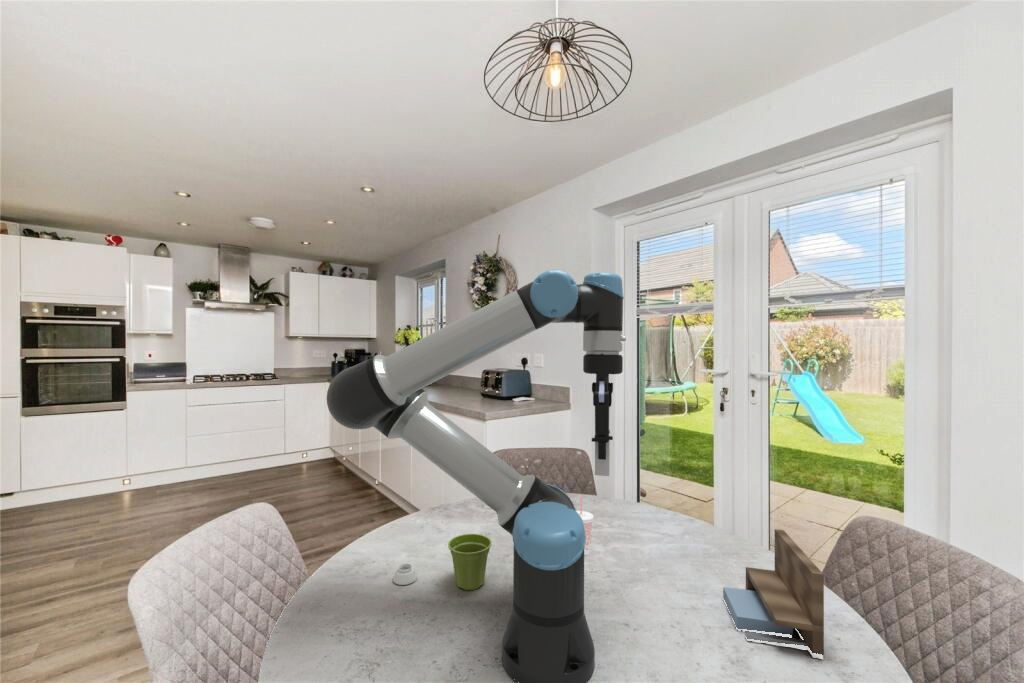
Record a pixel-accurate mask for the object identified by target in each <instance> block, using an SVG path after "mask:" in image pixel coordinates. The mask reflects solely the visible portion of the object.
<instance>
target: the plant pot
mask: <svg viewBox="0 0 1024 683" xmlns="http://www.w3.org/2000/svg"><path fill="white" fill-rule="evenodd" d="M492 542H493V541H492V540H491V538H489V537H488V536H487V535H483V534H480V533H465V534H460V535H459V534H458V535H457V536H454V537H452V538H451V539H450V540H449V541H448V543H447V547H448V549H449V550H450V554H451V557H452V563H453V572H454V580H455V585H456V587H457V588H461V589H463V590H464V591H472V590H477V589H479V588H480V587H481V586H482V585H484V583H485V578H486V569H487V564H488V563H487V562H488V555H489V553H490V548H491V547H492Z"/></svg>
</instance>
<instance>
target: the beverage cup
mask: <svg viewBox="0 0 1024 683" xmlns="http://www.w3.org/2000/svg"><path fill="white" fill-rule="evenodd" d="M579 497H580V500H579V505H580V508H579V510H576V512H577V513H578V514H579V515H580V517H581V518H582V521H583V524H584V530H585V535H586V543H585V548H584V556H588V555H590V553H591V543H592V542H591V541H592V540H591V539H592V526H593V521H594V515H593V513H591V512H589V511H585V510H583V495H582V494H580V496H579Z"/></svg>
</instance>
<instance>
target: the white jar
mask: <svg viewBox="0 0 1024 683" xmlns="http://www.w3.org/2000/svg"><path fill="white" fill-rule="evenodd" d="M417 578H418V574H417V572H416V571H415V569H414V567H413V565H412V563H402V564H400V565H398V567H397V569H396V571H395V573H394V575H393V578H392V581H393V582H394V584H397V585H400V586H405V585H406V586H407V585H411V584H413V583H414V582H415V581H416V580H417Z"/></svg>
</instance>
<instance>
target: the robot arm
mask: <svg viewBox="0 0 1024 683" xmlns="http://www.w3.org/2000/svg"><path fill="white" fill-rule="evenodd" d="M623 290H624V288H623V279H622V277H621V276H620V275H619V274H617V273H612V272H594V273H593V272H592V273H588V274H586V275H585V276H584V278H583V282H582V283H579V284H577V282H576V281H575V279H574V278H573V277H572V276H571V275H570V274H569V273H567V272H565V271H564V270H560V269H549V270H545V271H543V272H542V273H540V274H538V275H537V276H536V278H535V279H534V280H533V281H532V282H529V283H527V284H526V285H523V286H522V287H520V288H518V289H516V290H514V291H512V292H510V293H507V294H506V295H504V296H503V297H500V298H499V299H497V300H494V301H492V302H491V303H488V304H487V305H484V306H483V307H481V308H478V309H477V310H475V311H473V312H471V313H469V314H468V315H465V316H463V317H461V318H459V319H458V320H455V321H454V322H452V323H449V324H447V325H446V326H443V327H442V328H440V329H438V330H436V331H435V332H432V333H430V334H428V335H426V336H424V337H423V338H421V339H418V340H417V341H415V342H412V343H411V344H409V345H407V346H405V347H403V348H401V349H398V350H397V351H395V352H393V353H391V354H389V355H386V356H385V355H383V354H376V355H374V356H372V357H369V359H366V360H364V361H362V362H360V363H359V362H358V363H357V364H355V365H353V366H349V367H347V368H345V369H343V370H342V371H340V372H339V373H338V374H337V375H335V377H333V379H332V380H331V382H330V384H329V386H328V389H327V391H326V405H327V409H328V411H329V414H330V415H331V417H332V418H333V419H334V420H335V421H336V422H338V424H340V425H341V426H343V427H345V428H347V429H351V430H366V429H371V428H374V429H376V430H377V431H378V432H380V433H381V434H382V435H384V436H385V437H386V438H388V439H389V440H392V439H402V441H403V440H404V442H405V443H407V444H408V445H409V446H411V447H412V448H413V449H415V450H416V451H417V452H418V453H419V454H421V455H422V456H424V457H425V458H426V459H427V460H428V461H430V462H431V463H432V464H434V465H435V466H436V467H438V468H439V469H440V470H441V471H443V472H444V473H445V474H447V475H448V476H449V477H450V478H452V479H453V480H454V481H455V482H456V483H458V484H460V485H461V486H462V487H463V488H465V489H466V490H467V491H468V492H470V493H471V494H472V495H473V496H475V498H477V499H478V500H480V501H481V502H482V503H484V504H485V505H486V506H487V507H489V508H490V509H492V510H493V511H494V512H495V513H496V515H497V522H498V526H500V527H501V528H502V529H503V530H505V532H507V533H508V534H510V535H511V536H512V542H513V570H512V572H513V573H512V574H513V578H512V579H513V580H512V582H513V586H512V597H513V598H512V610H511V613H510V616H509V620H508V622H507V625H506V629H505V631H504V634H503V636H502V637H503V638H502V643H501V661H502V665H503V668H504V671H506V674H508V676H509V675H510V676H511V677H512V678H513V679H515V680H514V681H515V682H516V681H517V682H519V683H587V682H588V681H589V679H590V678H591V677H592V675H593V673H594V671H595V665H596V663H595V662H596V660H595V659H596V658H595V656H596V655H595V653H596V651H595V644H594V641H593V638H592V637H593V636H592V635H591V630H590V628H589V624H588V621H587V618H586V614H585V555H584V548H585V543H586V535H585V530H584V524H583V521H582V518H581V517H580V515H579V514H578V513H577V512H576V511H577V510H576V507H575V505H574V503H573V501H572V500H571V498H570V497H569V495H568V494H567V493H566V492H565V491H564V490H563V489H561V488H559V487H558V486H556V485H553V484H548V483H546V482H544V481H542V480H541V479H540V478H539V477H537V476H536V475H534V474H527V475H523V474H520V473H519V472H518V471H517V470H516V469H514V468H513V467H512V466H510V465H509V464H508V463H507V462H506V461H504V460H502V459H501V458H500V457H499V456H498V455H496V454H495V453H493V452H492V451H491V450H490V449H488V448H487V447H486V446H485V445H484V444H482V443H481V442H480V441H478V440H477V439H475V438H474V437H473V436H471V435H470V434H469V433H467V432H466V431H465V430H464V429H463V428H461V427H460V426H458V424H456V423H454V421H452V420H451V419H450V418H448V417H447V416H445V415H444V414H443V413H442V412H440V411H439V410H438V409H436V407H434V406H433V405H432V404H430V402H429V398H428V392H427V391H426V390H424V389H423V388H425V387H427V386H429V385H431V384H433V383H435V382H438V381H439V380H441V379H443V378H445V377H447V376H449V375H451V374H453V373H454V372H457V371H459V370H460V369H462V368H464V367H466V366H468V365H471V364H472V363H474V362H476V361H478V360H480V359H482V358H485V357H486V356H488V355H489V354H492V353H494V352H496V351H498V350H500V349H501V348H503V347H505V346H508V345H509V344H511V343H514V342H515V341H517V340H520V339H521V338H523V337H525V336H527V335H529V334H531V333H532V332H535V331H537V330H538V329H541V328H543V327H545V326H548V325H549V324H551V323H552V324H558V323H564V324H565V323H575V324H579V323H581V324H582V323H583V331H582V333H583V334H582V350H583V352H585V354H584V355H583V356H582V357H583V359H582V361H583V362H582V363H583V364H582V365H583V367H582V369H583V373H585V374H589V375H592V374H594V375H595V376H596V377H595V382H592V383H591V392H592V395H593V396H592V405H593V406H594V437H591V442H592V443H593V442H594V476H601V477H610V441H613V440H614V439H613V438H614V437H613V436H612V435H610V432H611V431H610V407H612V401H613V400H612V397H613V396H612V394H613V392H614V391H613V390H614V383H613V382H610V375H619V374H622V373H623V370H624V369H623V366H624V363H623V362H624V361H623V360H624V358H623V356H622V354H620V352H621V353H622V351H623V342H626V340H627V337H626V336H624V335H623V327H624V326H623V319H624V315H623V314H624V312H623V310H624V292H623ZM510 676H509V677H510ZM511 677H510V678H511ZM512 678H511V679H512ZM513 679H512V680H513ZM517 682H516V683H517Z"/></svg>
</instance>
